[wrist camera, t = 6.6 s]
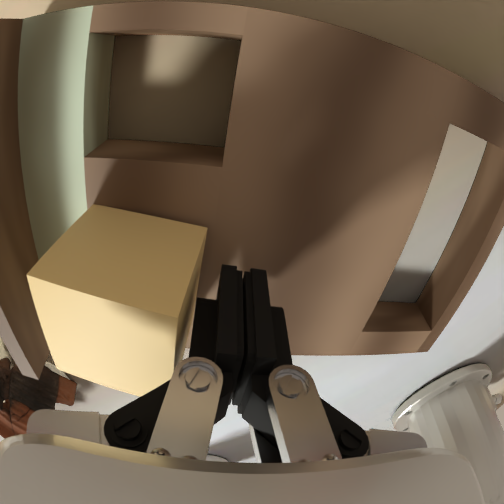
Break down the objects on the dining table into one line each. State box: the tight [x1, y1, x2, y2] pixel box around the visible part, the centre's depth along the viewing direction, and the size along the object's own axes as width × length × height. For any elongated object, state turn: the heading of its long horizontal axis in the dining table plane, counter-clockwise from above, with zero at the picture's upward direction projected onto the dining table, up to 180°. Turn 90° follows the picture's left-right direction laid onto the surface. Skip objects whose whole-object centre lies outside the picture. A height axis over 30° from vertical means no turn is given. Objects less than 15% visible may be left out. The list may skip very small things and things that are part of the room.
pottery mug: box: [0, 358, 77, 438], centre depth 20 cm, size 12×10×8 cm
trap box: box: [0, 1, 504, 380], centre depth 11 cm, size 23×15×6 cm, turn 81°
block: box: [26, 204, 208, 397], centre depth 10 cm, size 4×4×4 cm
